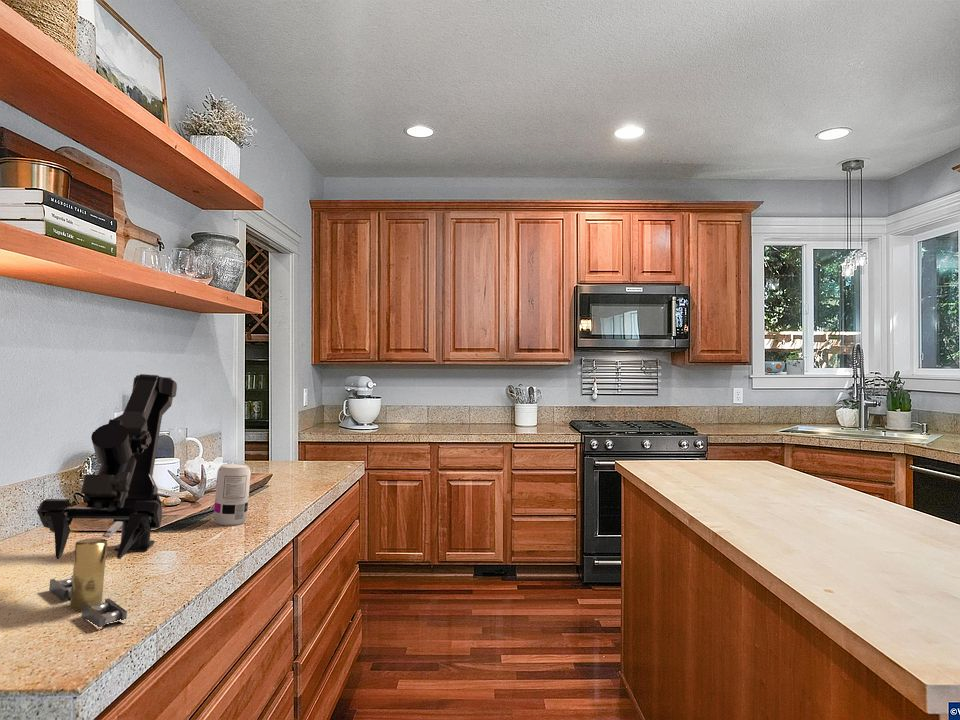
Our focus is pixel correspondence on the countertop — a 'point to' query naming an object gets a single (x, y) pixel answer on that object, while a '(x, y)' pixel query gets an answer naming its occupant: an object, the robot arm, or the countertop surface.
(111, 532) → the caliper
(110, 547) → the countertop surface
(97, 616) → the chain end
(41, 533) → the countertop surface
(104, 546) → the link pin
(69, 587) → the chain end
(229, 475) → the supplement can
